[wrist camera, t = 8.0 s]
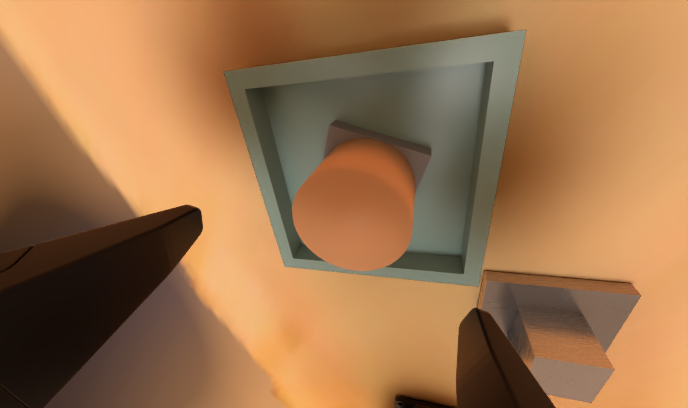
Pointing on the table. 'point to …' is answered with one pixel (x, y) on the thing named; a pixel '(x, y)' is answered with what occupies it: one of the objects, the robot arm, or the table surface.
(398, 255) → the tan cylindrical plug
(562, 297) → the stud fixture
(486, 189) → the bin
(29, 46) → the table surface
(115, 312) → the robot arm
